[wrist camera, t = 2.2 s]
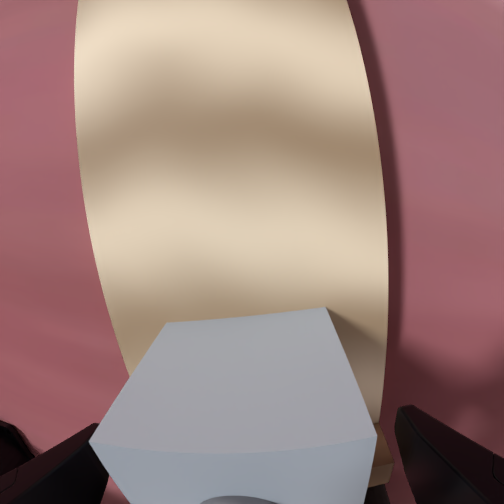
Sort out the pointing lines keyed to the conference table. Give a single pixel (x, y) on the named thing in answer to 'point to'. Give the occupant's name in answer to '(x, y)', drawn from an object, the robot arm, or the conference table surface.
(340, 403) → the block
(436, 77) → the conference table surface
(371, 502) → the camera
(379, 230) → the track
